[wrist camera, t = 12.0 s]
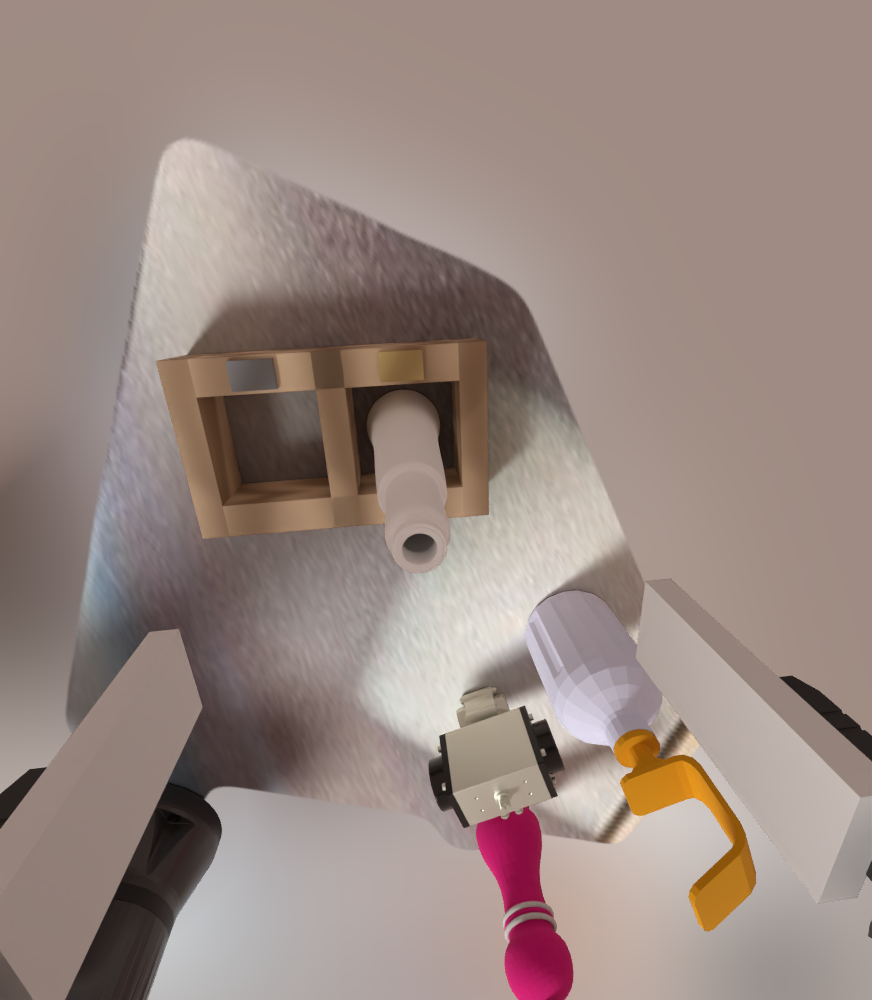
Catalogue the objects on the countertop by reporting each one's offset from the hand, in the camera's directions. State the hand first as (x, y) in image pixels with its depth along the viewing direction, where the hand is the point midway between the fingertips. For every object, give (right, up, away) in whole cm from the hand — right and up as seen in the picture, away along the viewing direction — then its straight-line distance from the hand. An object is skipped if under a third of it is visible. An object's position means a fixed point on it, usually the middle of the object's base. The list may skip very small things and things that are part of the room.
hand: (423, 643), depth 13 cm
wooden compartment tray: (-7, +10, +25) cm, 28 cm away
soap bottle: (+14, -9, +35) cm, 38 cm away
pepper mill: (+8, -32, +43) cm, 54 cm away
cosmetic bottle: (-2, +10, +26) cm, 28 cm away
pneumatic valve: (+5, -18, +38) cm, 42 cm away
